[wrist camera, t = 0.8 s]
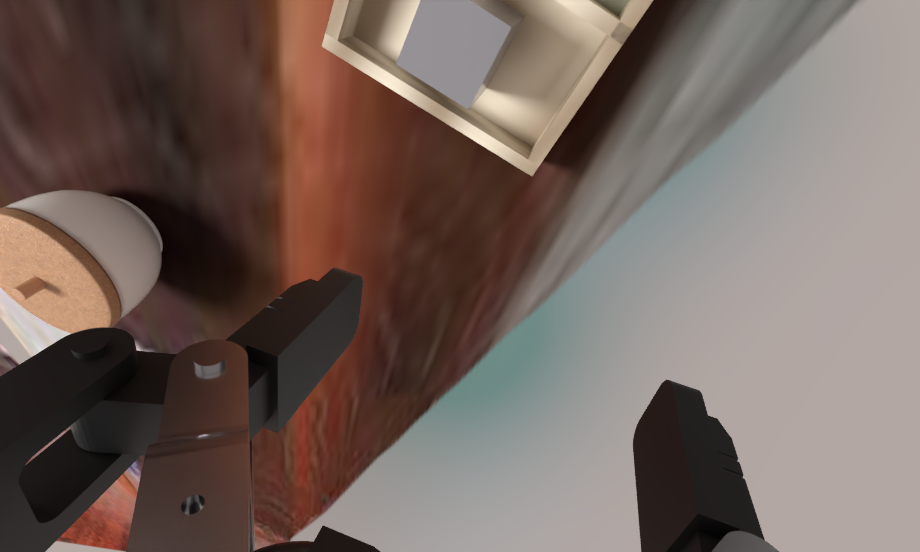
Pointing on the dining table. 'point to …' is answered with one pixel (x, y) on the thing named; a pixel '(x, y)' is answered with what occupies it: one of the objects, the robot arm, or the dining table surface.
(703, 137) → the dining table surface
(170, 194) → the dining table surface
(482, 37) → the gray cube
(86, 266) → the lidded bowl
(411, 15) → the tray
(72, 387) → the robot arm
